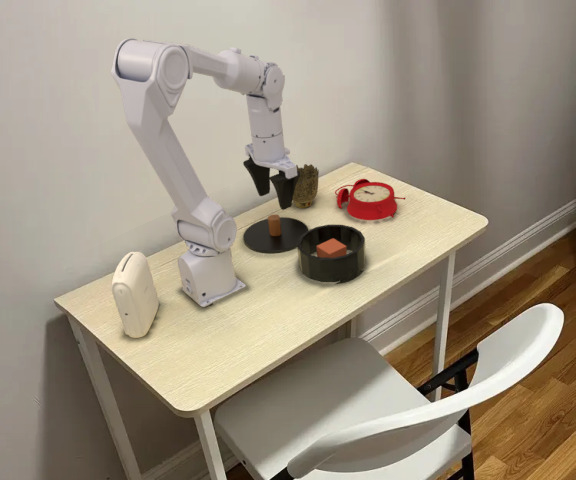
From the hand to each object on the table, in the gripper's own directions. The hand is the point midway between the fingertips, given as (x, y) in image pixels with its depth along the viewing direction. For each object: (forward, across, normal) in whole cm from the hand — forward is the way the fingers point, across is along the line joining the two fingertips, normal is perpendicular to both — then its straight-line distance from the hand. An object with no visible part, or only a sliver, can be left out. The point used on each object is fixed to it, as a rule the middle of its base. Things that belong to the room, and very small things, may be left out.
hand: (275, 200), depth 132 cm
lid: (+8, +1, 0) cm, 8 cm away
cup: (+9, +8, -12) cm, 17 cm away
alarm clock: (+9, -2, -21) cm, 23 cm away
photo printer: (+9, -6, +34) cm, 35 cm away
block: (+8, -15, -2) cm, 17 cm away
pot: (+9, -15, -2) cm, 17 cm away
